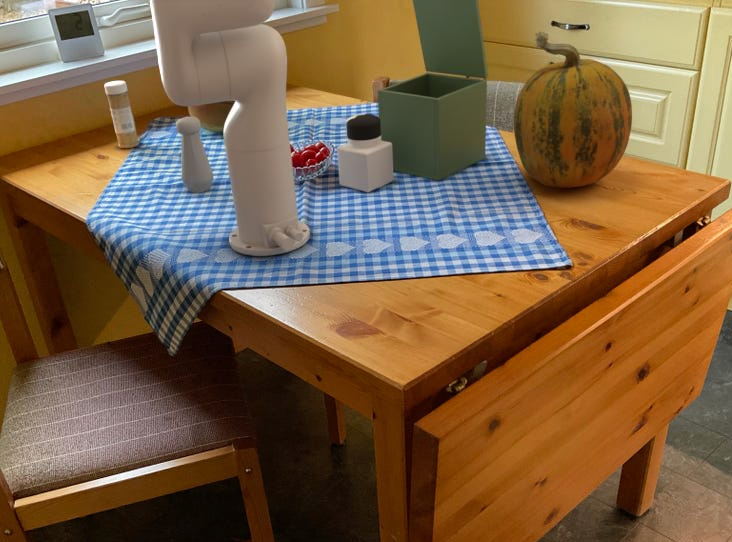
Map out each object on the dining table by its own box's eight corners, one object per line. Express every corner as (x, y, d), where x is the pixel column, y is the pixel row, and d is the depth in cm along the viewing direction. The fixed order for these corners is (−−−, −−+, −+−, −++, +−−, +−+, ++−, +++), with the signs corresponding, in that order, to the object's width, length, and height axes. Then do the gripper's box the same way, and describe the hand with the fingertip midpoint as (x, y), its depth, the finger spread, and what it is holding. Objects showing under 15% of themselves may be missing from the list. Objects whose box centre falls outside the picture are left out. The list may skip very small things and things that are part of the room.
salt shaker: (208, 194, 144) (196, 123, 137) (179, 194, 145) (165, 123, 138) (219, 183, 149) (208, 113, 142) (191, 183, 150) (178, 114, 143)
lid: (474, -8, 132) (492, -23, 135) (410, -12, 140) (428, -25, 143) (485, 78, 143) (502, 64, 145) (425, 71, 151) (442, 57, 153)
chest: (439, 181, 142) (438, 99, 134) (381, 167, 150) (377, 90, 142) (485, 157, 151) (487, 80, 143) (428, 146, 159) (427, 72, 151)
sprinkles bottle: (139, 141, 176) (126, 78, 169) (139, 147, 172) (125, 83, 165) (118, 144, 175) (104, 81, 168) (117, 150, 172) (103, 86, 164)
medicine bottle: (394, 181, 143) (391, 114, 137) (368, 193, 139) (364, 124, 133) (365, 174, 148) (361, 108, 141) (338, 185, 143) (333, 118, 137)
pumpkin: (490, 187, 137) (494, 34, 124) (549, 156, 149) (558, 13, 135) (588, 209, 126) (604, 43, 113) (644, 174, 138) (664, 19, 124)
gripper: (137, -80, 125) (158, 35, 134) (244, -91, 129) (258, 22, 138) (133, -82, 131) (154, 28, 140) (236, -91, 135) (250, 17, 144)
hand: (206, 25), depth 139 cm, fingers open, 9 cm apart
